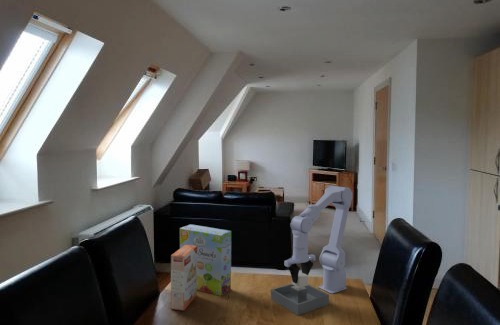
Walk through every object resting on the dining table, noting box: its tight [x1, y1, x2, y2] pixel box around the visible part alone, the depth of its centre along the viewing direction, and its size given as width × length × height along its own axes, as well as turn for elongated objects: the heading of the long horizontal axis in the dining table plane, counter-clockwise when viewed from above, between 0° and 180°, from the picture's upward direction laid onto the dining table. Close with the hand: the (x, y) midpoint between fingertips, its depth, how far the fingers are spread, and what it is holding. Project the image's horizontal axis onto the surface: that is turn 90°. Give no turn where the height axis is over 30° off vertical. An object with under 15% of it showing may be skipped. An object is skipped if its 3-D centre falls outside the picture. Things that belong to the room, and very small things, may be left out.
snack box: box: [179, 224, 232, 297], centre depth 158 cm, size 22×9×26 cm, turn 62°
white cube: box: [291, 271, 309, 288], centre depth 146 cm, size 4×4×4 cm
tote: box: [270, 283, 330, 316], centre depth 147 cm, size 16×16×4 cm
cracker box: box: [170, 245, 198, 311], centre depth 144 cm, size 14×6×21 cm, turn 168°
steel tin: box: [290, 286, 307, 303], centre depth 147 cm, size 4×4×5 cm
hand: (299, 281), depth 146 cm, fingers closed on white cube, 4 cm apart
